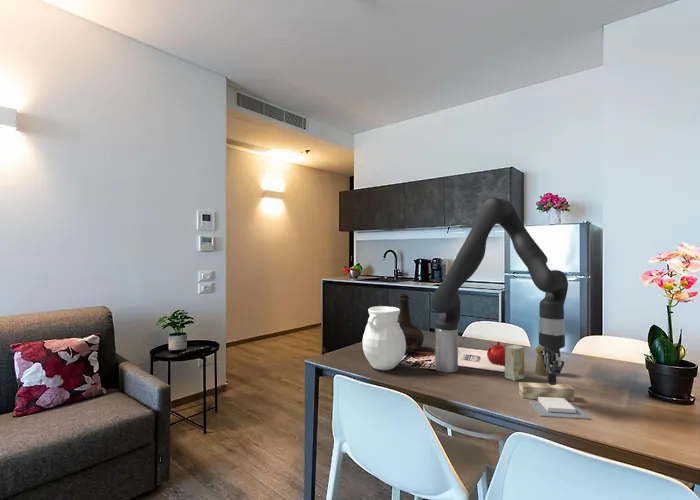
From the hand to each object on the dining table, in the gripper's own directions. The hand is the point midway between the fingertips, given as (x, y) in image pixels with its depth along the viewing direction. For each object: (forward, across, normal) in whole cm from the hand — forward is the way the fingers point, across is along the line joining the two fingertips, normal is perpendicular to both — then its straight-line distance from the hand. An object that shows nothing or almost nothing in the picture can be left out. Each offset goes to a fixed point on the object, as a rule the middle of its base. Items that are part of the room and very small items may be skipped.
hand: (551, 384), depth 117 cm
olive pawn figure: (+6, -28, +8) cm, 30 cm away
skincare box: (+6, -22, -5) cm, 23 cm away
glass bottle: (+6, -54, -47) cm, 72 cm away
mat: (+6, +5, 0) cm, 8 cm away
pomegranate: (+6, -41, -6) cm, 42 cm away
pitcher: (+6, -29, -56) cm, 63 cm away
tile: (+4, 0, 0) cm, 4 cm away
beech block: (+6, -4, 0) cm, 7 cm away
